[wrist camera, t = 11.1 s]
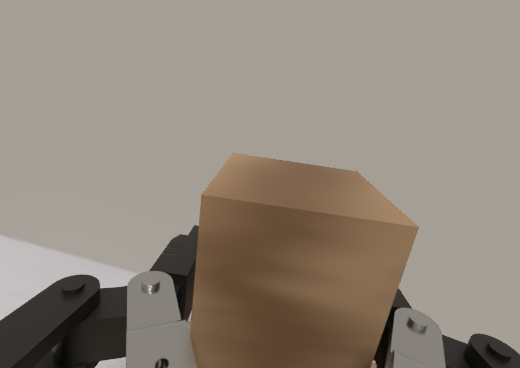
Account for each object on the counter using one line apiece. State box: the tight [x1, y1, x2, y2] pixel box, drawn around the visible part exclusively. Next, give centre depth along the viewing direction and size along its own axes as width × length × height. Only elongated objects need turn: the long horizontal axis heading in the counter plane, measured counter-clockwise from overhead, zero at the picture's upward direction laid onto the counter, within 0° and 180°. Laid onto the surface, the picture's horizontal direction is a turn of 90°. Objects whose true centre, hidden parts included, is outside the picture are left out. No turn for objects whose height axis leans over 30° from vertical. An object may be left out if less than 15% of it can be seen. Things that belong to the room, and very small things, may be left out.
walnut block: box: [190, 153, 419, 368], centre depth 11 cm, size 5×5×14 cm
